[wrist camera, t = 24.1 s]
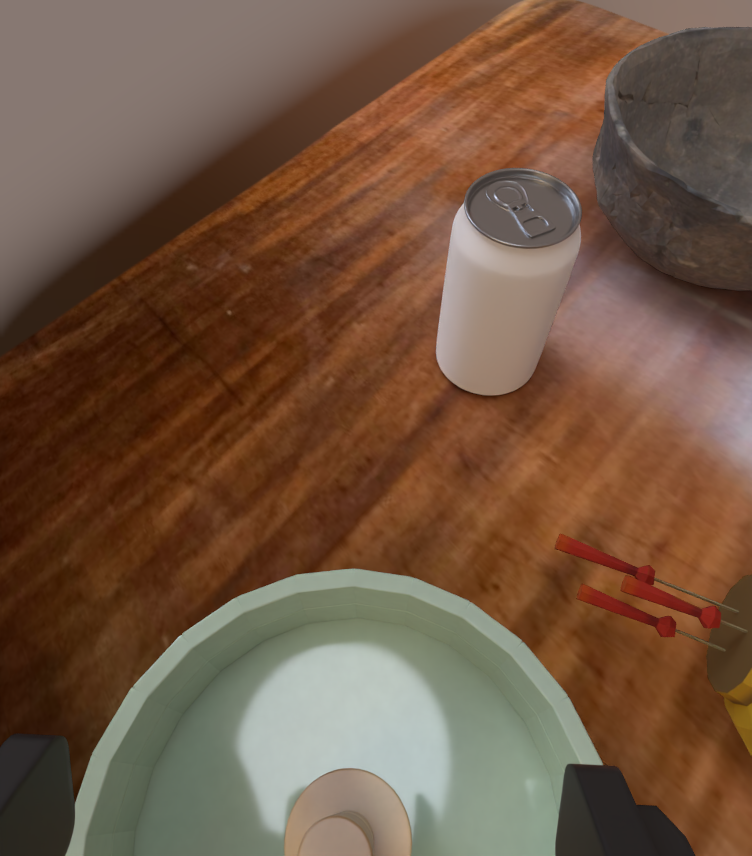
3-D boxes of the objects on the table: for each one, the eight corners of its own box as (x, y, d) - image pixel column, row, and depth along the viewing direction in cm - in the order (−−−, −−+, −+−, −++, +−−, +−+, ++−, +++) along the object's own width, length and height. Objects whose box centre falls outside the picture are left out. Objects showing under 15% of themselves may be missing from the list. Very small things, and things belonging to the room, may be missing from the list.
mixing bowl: (172, 1295, 21) (105, 1460, 15) (86, 696, 30) (26, 674, 25) (674, 1005, 24) (755, 1060, 19) (458, 552, 34) (473, 507, 28)
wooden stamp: (312, 935, 25) (269, 1029, 15) (276, 798, 27) (216, 797, 17) (428, 878, 26) (463, 930, 16) (383, 751, 28) (388, 723, 18)
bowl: (762, 135, 52) (839, 4, 44) (919, 322, 42) (1060, 199, 33) (525, 167, 50) (557, 35, 41) (630, 372, 40) (700, 254, 31)
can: (500, 306, 43) (540, 148, 32) (556, 375, 40) (619, 226, 29) (416, 340, 41) (430, 185, 31) (468, 415, 38) (502, 271, 28)
